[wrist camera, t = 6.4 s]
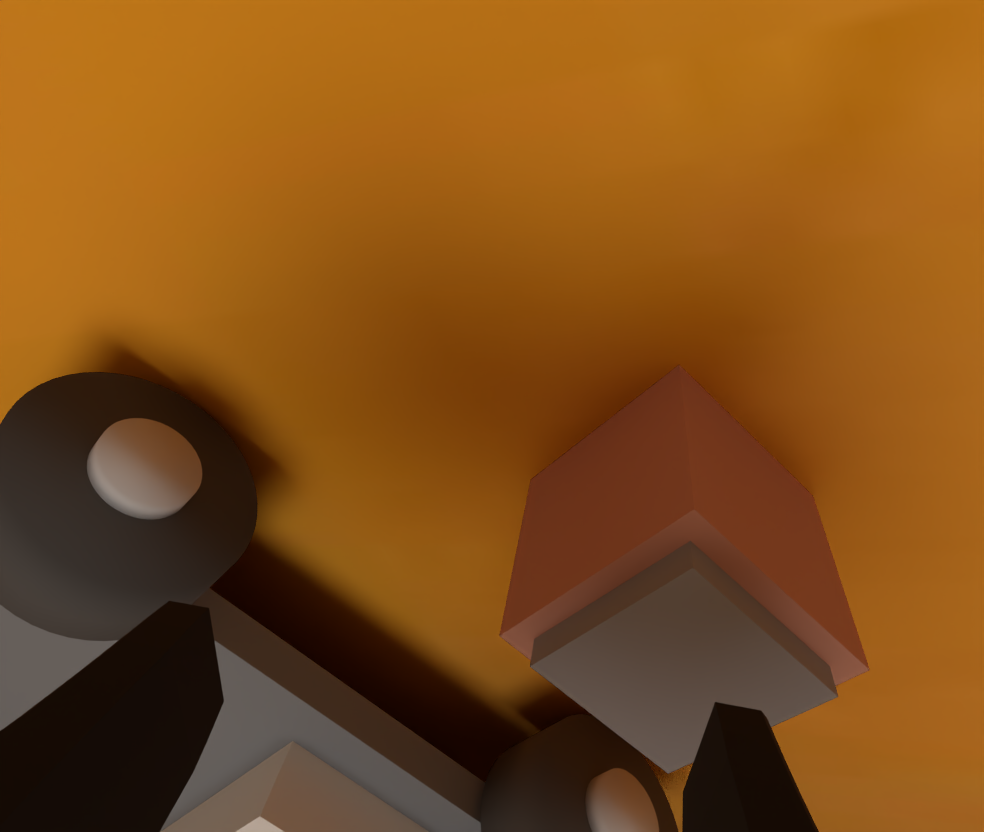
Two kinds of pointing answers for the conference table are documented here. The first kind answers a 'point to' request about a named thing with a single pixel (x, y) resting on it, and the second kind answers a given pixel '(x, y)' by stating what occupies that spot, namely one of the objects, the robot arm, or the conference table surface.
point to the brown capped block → (678, 577)
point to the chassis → (352, 751)
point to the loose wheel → (115, 504)
